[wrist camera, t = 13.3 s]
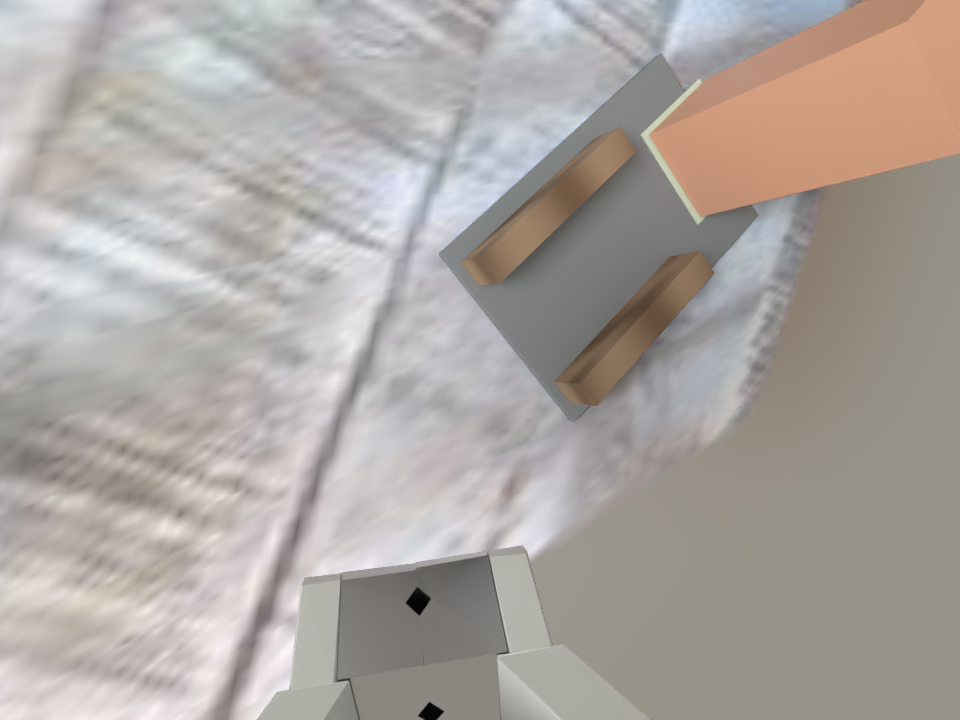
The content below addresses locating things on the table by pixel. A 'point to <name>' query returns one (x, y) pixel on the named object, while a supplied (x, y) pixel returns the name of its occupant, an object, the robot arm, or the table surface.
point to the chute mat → (596, 236)
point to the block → (822, 107)
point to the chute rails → (639, 315)
